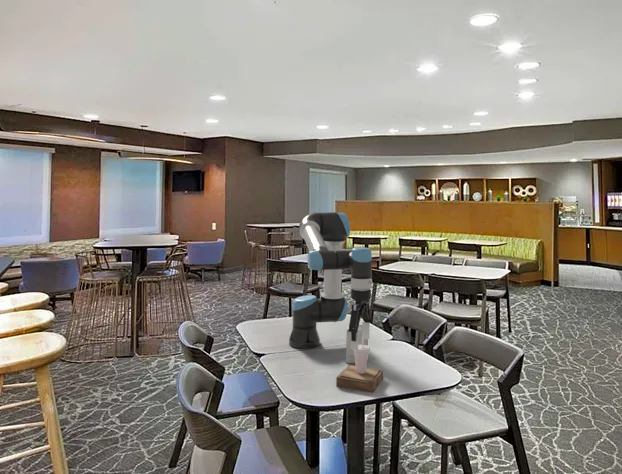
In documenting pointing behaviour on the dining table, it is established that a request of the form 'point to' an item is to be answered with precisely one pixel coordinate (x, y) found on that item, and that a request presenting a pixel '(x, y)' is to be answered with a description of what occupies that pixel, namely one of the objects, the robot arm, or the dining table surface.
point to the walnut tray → (359, 379)
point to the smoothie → (361, 357)
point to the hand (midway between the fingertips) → (360, 343)
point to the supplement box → (350, 352)
